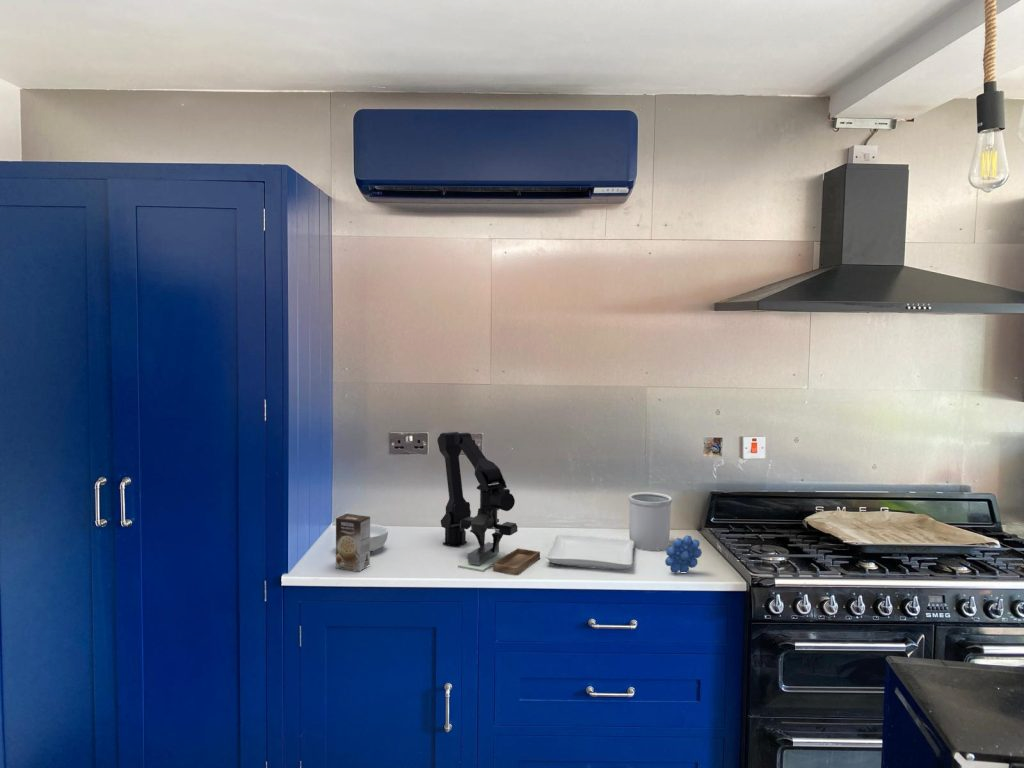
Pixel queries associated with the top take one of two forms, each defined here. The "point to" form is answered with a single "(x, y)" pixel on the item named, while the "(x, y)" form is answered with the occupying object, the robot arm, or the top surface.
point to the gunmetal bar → (482, 554)
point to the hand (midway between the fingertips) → (488, 551)
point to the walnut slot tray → (516, 561)
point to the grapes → (683, 554)
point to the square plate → (591, 552)
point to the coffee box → (352, 542)
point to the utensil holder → (649, 520)
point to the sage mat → (485, 564)
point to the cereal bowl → (377, 536)
